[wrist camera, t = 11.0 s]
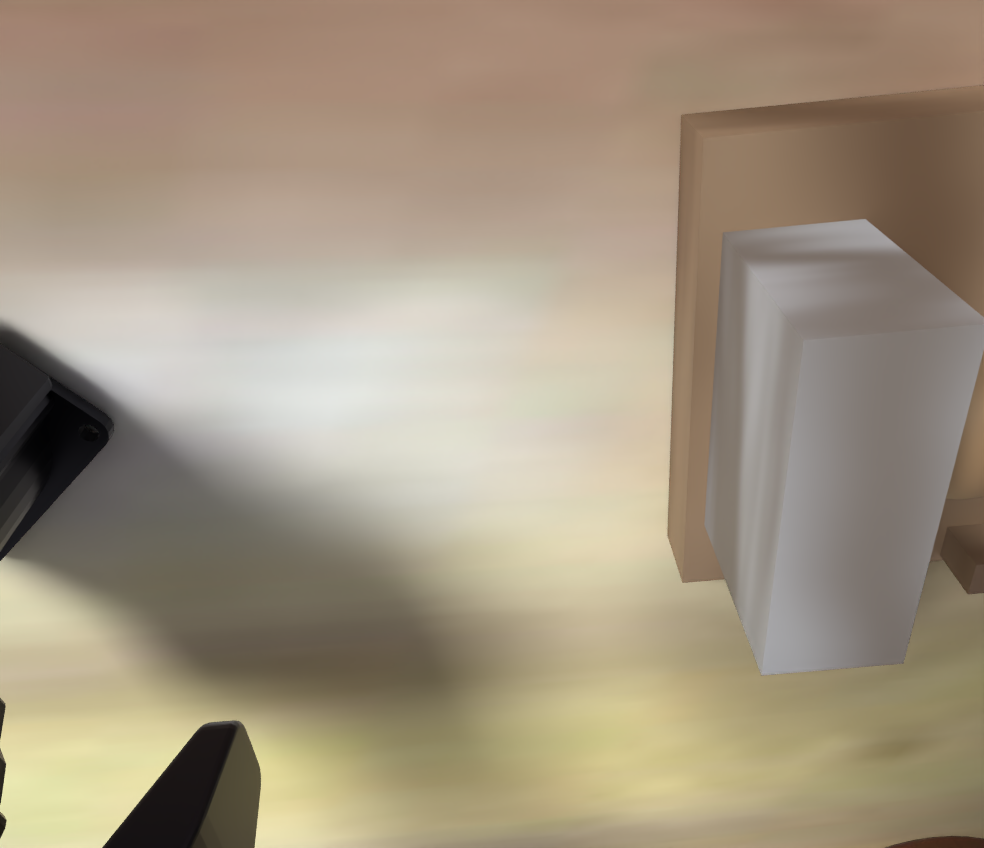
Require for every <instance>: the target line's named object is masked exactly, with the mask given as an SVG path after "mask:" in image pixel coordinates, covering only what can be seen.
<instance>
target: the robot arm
mask: <svg viewBox="0 0 984 848" xmlns="http://www.w3.org/2000/svg"><path fill="white" fill-rule="evenodd" d="M85 425H90V426H93V427H95V428H96V429H97V430H98V432H99V433H93V432H91V431H89V430H88V429H87V428H86V427H85ZM113 432H114V424H113V422H112V420H111V418H110V417H109V416H108V415H106V414H105V413H104V412H102V411H101V410H99V409H98V408H96V407H95V406H93V405H92V404H90V403H89V402H87V401H86V400H84V399H83V398H81V397H80V396H78V395H77V394H75V393H74V392H72V391H71V390H69V389H68V388H66V387H65V386H63V385H62V384H60V383H59V382H57V381H56V380H54V379H53V378H51V377H50V376H48V375H47V374H45V373H44V372H42V371H41V370H39V369H37V368H36V367H34V366H33V365H31V364H30V363H28V362H27V361H25V360H24V359H22V358H21V357H19V356H18V355H16V354H15V353H13V352H12V351H10V350H9V349H7V348H6V347H4V346H3V345H1V344H0V561H1V560H2V559H3V558H4V557H5V556H6V554H7V553H8V552H9V551H10V550H11V549H12V548H13V547H14V546H15V544H16V543H17V542H18V541H19V540H20V539H21V538H22V537H23V536H24V535H25V533H26V532H27V531H28V530H29V529H30V528H31V527H32V526H33V525H34V523H35V522H36V521H37V520H38V519H39V518H40V517H41V516H42V515H43V514H44V512H45V511H46V510H47V509H48V508H49V507H50V506H51V505H52V504H53V502H54V501H55V500H56V499H57V498H58V497H59V496H60V495H61V494H62V493H63V491H64V490H65V489H66V488H67V487H68V486H69V485H70V484H71V483H72V481H73V480H74V479H75V478H76V477H77V476H78V475H79V474H80V473H81V472H82V470H83V469H84V468H85V467H86V466H87V465H88V464H89V463H90V462H91V461H92V459H93V458H94V457H95V456H96V455H97V454H98V453H99V452H100V451H101V449H102V448H103V447H104V446H105V445H106V444H107V442H108V441H109V439H110V437H111V436H112V434H113ZM4 713H5V703H4V702H3V700H2V699H1V698H0V738H1V731H2V725H3V719H4ZM5 768H6V763H5V760H4V757H3V754H2V752H1V749H0V803H1V797H2V790H3V783H4V775H5ZM260 789H261V773H260V767H259V763H258V761H257V758H256V755H255V753H254V750H253V747H252V745H251V742H250V739H249V737H248V734H247V732H246V729H245V727H244V725H243V724H242V723H241V722H239V721H222V722H211V723H207V724H205V725H203V726H202V727H200V728H199V729H198V730H197V731H196V733H195V734H194V735H193V736H192V737H191V739H190V740H189V741H188V742H187V744H186V745H185V746H184V747H183V749H182V750H181V751H180V752H179V754H178V755H177V756H176V757H175V759H174V760H173V761H172V762H171V763H170V765H169V766H168V767H167V768H166V770H165V771H164V772H163V773H162V775H161V776H160V777H159V778H158V780H157V781H156V782H155V783H154V784H153V786H152V787H151V788H150V789H149V791H148V792H147V793H146V794H145V796H144V797H143V798H142V799H141V801H140V802H139V803H138V804H137V806H136V807H135V808H134V809H133V810H132V812H131V813H130V814H129V815H128V817H127V818H126V819H125V820H124V822H123V823H122V824H121V825H120V827H119V828H118V829H117V830H116V831H115V833H114V834H113V835H112V836H111V838H110V839H109V840H108V841H107V843H106V844H105V845H104V846H103V848H254V847H255V837H256V828H257V818H258V809H259V799H260ZM5 826H6V819H5V816H4V815H3V814H2V813H1V812H0V838H1V836H2V834H3V831H4V829H5Z"/></svg>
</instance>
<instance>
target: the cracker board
mask: <svg viewBox="0 0 984 848" xmlns="http://www.w3.org/2000/svg"><path fill="white" fill-rule="evenodd" d="M668 538H669V542H670V545H671V548H672V551H673V554H674V557H675V560H676V564H677V567H678V570H679V573H680V576H681V579H682V582H683V583H686V582H697V581H709V580H720V579H725V581H726V583H727V586H728V589H729V591H730V594H731V596H732V599H733V602H734V604H735V607H736V610H737V612H738V615H739V618H740V620H741V623H742V625H743V628H744V631H745V633H746V636H747V639H748V641H749V644H750V646H751V649H752V652H753V654H754V657H755V660H756V662H757V665H758V668H759V670H760V673H761V675H773V674H785V673H797V672H808V671H820V670H832V669H844V668H856V667H868V666H880V665H892V664H903V663H904V659H905V655H906V651H907V647H908V643H909V640H910V636H911V632H912V628H913V624H914V620H915V616H916V612H917V608H918V605H919V601H920V597H921V593H922V589H923V585H924V581H925V577H926V573H927V569H928V566H929V562H930V561H940V560H944V561H945V563H946V564H947V566H948V567H949V568H950V570H951V571H952V573H953V574H954V575H955V577H956V578H957V580H958V581H959V583H960V584H961V585H962V587H963V588H964V590H965V591H966V592H967V594H975V593H984V85H983V86H973V87H963V88H952V89H942V90H932V91H922V92H911V93H901V94H891V95H880V96H870V97H860V98H850V99H839V100H829V101H819V102H809V103H798V104H788V105H778V106H768V107H757V108H747V109H737V110H727V111H716V112H706V113H696V114H685V115H682V116H681V146H680V176H679V206H678V236H677V267H676V297H675V327H674V357H673V387H672V418H671V448H670V478H669V508H668Z"/></svg>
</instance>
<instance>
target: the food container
mask: <svg viewBox="0 0 984 848" xmlns="http://www.w3.org/2000/svg"><path fill="white" fill-rule="evenodd" d="M887 848H984V839H981V838H974V837H958V836H948V837H933V838H926V839H919V840H913V841H909V842H905V843H900V844H896V845H893V846H890V847H887Z"/></svg>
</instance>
